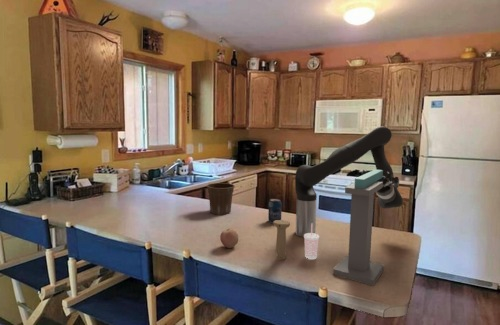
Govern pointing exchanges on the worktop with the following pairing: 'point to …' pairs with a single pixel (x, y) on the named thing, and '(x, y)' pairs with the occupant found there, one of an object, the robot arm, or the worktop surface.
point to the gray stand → (360, 237)
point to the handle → (281, 238)
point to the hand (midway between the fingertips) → (376, 173)
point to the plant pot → (220, 197)
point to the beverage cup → (311, 244)
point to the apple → (229, 238)
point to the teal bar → (368, 178)
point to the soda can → (274, 210)
